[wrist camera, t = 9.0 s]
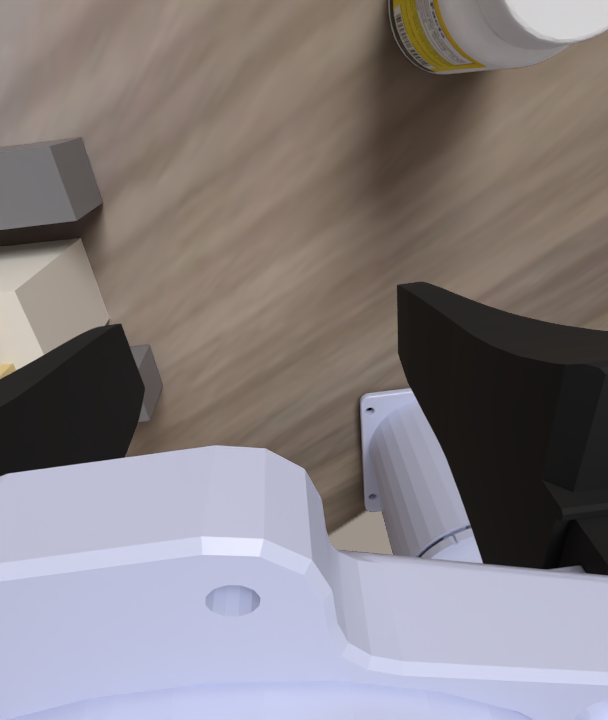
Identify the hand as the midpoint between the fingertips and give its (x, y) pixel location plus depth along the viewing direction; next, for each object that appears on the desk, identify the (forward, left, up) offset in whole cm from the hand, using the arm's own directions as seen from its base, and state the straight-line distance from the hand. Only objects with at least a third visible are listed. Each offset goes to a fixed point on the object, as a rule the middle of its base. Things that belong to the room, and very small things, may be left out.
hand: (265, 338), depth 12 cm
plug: (-1, +10, -10) cm, 14 cm away
